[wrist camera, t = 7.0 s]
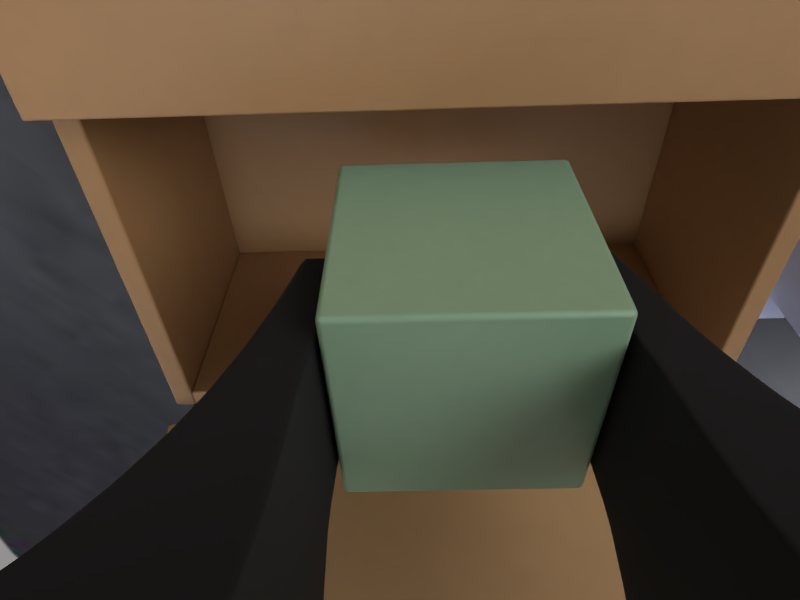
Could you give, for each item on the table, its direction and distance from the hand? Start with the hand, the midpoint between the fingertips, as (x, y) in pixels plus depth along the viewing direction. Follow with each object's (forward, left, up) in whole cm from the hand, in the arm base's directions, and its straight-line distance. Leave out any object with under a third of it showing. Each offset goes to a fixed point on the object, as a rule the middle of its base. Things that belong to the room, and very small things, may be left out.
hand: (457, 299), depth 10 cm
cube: (0, 0, -1) cm, 1 cm away
